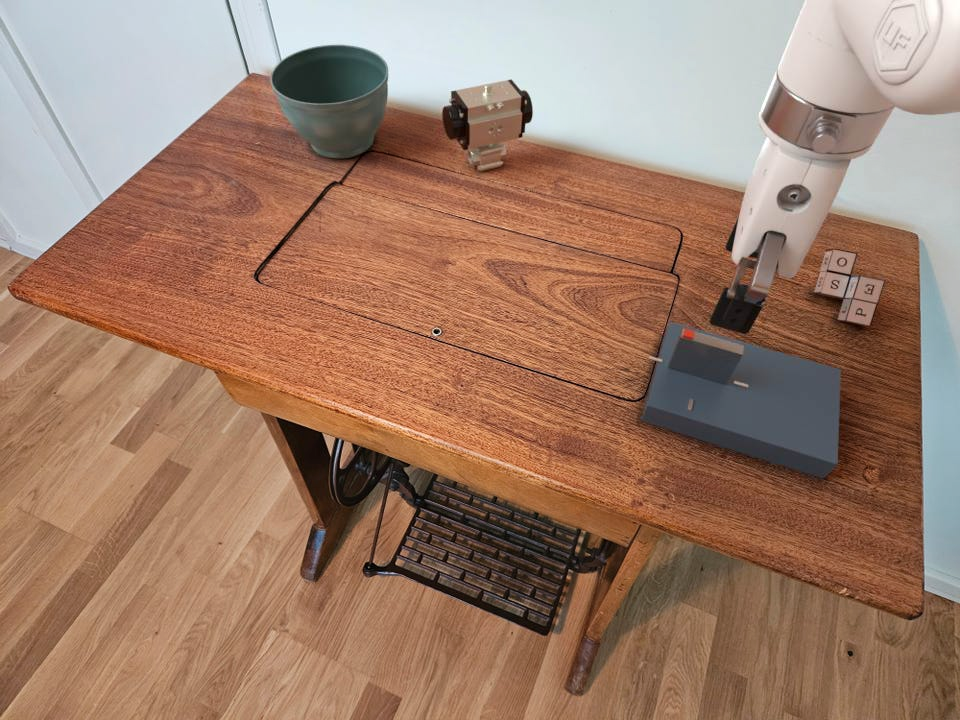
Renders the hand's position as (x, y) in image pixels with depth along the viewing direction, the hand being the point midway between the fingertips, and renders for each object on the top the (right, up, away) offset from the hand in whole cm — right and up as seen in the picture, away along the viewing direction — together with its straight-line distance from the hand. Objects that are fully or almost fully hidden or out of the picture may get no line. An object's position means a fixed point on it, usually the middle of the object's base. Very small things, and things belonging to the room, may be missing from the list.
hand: (735, 287), depth 55 cm
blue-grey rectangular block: (+5, -11, +11) cm, 16 cm away
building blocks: (+20, 0, +20) cm, 29 cm away
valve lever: (0, -8, +9) cm, 12 cm away
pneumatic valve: (-22, +22, +36) cm, 48 cm away
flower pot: (-44, +27, +40) cm, 65 cm away
